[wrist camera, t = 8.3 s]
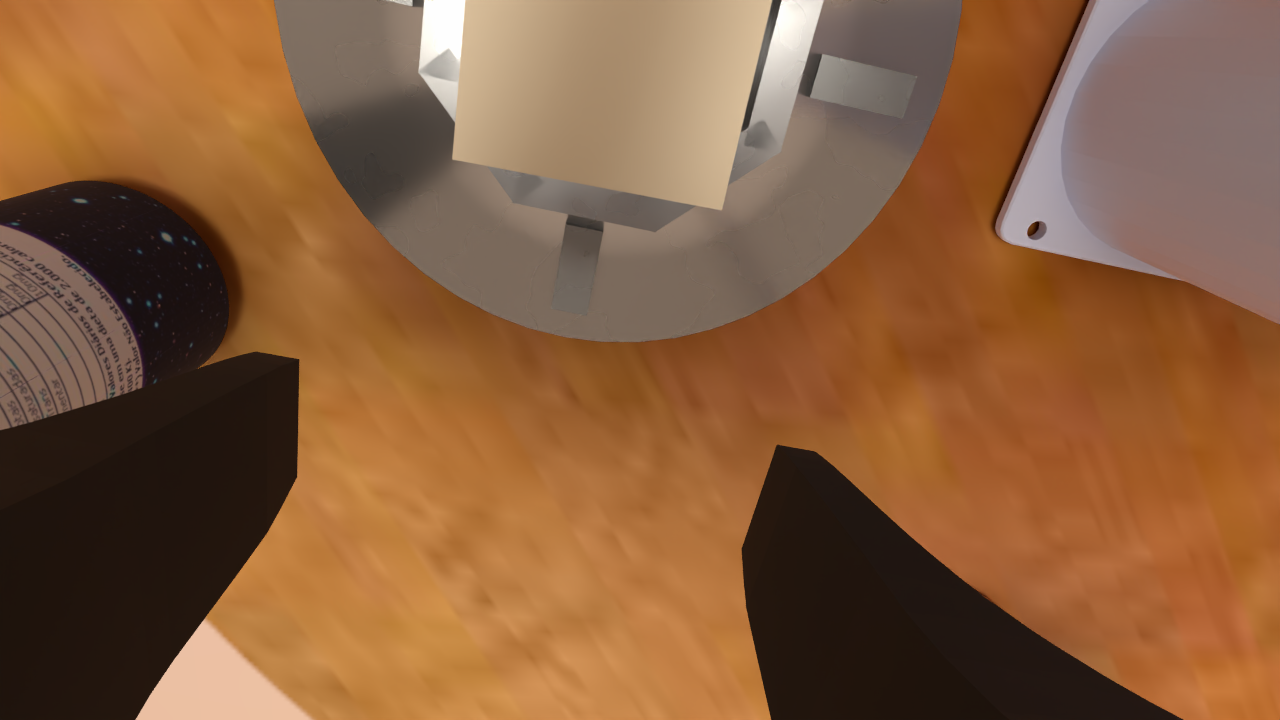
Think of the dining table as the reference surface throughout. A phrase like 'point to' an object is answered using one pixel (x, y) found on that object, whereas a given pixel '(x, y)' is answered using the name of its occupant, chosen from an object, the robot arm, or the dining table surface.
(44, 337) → the beverage can
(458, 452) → the dining table surface
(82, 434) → the robot arm
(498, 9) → the beige wooden block
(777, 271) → the rosette socket
